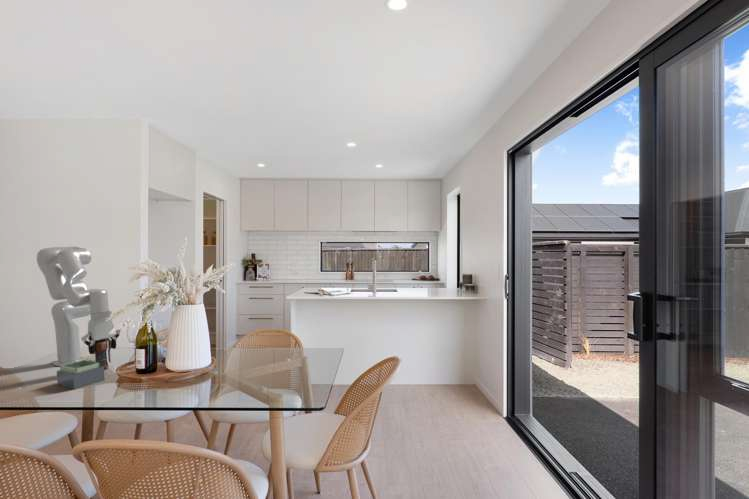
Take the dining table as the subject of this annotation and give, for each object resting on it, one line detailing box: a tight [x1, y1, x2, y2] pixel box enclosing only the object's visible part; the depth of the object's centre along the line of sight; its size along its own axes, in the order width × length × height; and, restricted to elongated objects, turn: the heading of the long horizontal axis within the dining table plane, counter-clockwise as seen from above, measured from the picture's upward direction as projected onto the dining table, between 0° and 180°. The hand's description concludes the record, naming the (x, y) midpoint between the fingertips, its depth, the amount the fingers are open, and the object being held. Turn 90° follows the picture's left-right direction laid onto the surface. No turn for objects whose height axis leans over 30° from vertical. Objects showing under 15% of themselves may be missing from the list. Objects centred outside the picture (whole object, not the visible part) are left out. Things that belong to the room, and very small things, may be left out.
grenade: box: [93, 338, 112, 370], centre depth 201 cm, size 6×8×15 cm
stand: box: [56, 359, 106, 390], centre depth 183 cm, size 14×12×8 cm
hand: (103, 351), depth 201 cm, fingers open, 9 cm apart
